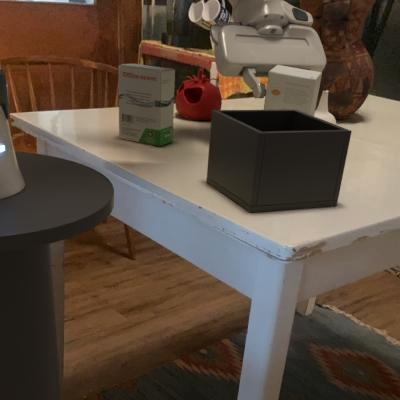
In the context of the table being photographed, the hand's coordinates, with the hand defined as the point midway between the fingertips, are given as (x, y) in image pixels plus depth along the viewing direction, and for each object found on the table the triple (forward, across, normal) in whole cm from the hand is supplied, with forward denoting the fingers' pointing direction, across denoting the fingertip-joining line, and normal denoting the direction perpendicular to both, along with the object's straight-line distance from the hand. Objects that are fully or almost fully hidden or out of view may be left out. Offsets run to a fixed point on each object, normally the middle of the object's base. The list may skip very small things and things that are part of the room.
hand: (281, 96), depth 103 cm
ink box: (0, -21, +13) cm, 25 cm away
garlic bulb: (-2, +17, +14) cm, 23 cm away
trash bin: (+22, -14, -10) cm, 28 cm away
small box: (+6, +1, +4) cm, 7 cm away
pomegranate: (-13, -3, +26) cm, 29 cm away
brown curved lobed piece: (-15, +29, +27) cm, 43 cm away
